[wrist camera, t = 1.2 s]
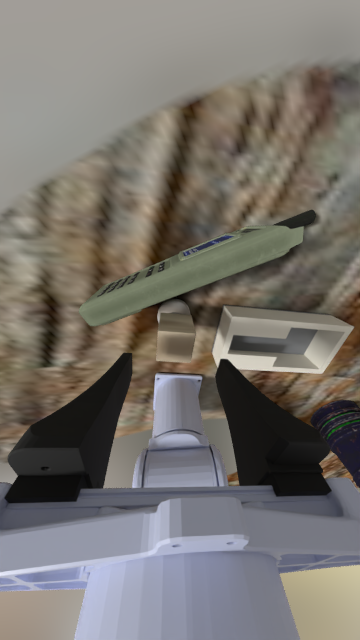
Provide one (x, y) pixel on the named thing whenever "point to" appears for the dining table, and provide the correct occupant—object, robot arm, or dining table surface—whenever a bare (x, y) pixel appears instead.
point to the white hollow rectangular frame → (278, 339)
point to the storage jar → (341, 432)
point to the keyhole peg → (175, 332)
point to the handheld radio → (194, 269)
